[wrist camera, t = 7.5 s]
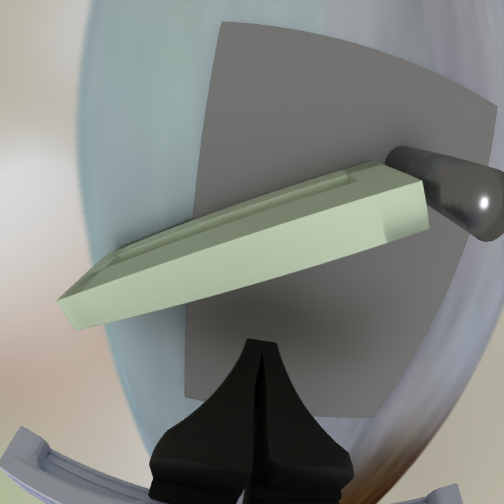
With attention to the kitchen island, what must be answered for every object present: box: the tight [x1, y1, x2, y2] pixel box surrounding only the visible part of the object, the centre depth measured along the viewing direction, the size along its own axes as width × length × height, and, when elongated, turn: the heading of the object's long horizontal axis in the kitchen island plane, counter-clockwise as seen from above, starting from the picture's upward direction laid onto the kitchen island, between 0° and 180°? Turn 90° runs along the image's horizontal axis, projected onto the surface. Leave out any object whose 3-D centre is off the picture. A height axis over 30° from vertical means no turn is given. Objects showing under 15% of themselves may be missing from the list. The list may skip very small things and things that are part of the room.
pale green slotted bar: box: [57, 161, 430, 331], centre depth 11 cm, size 14×2×5 cm, turn 111°
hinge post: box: [385, 146, 504, 242], centre depth 9 cm, size 2×2×7 cm
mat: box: [185, 22, 497, 418], centre depth 14 cm, size 22×14×1 cm, turn 171°
